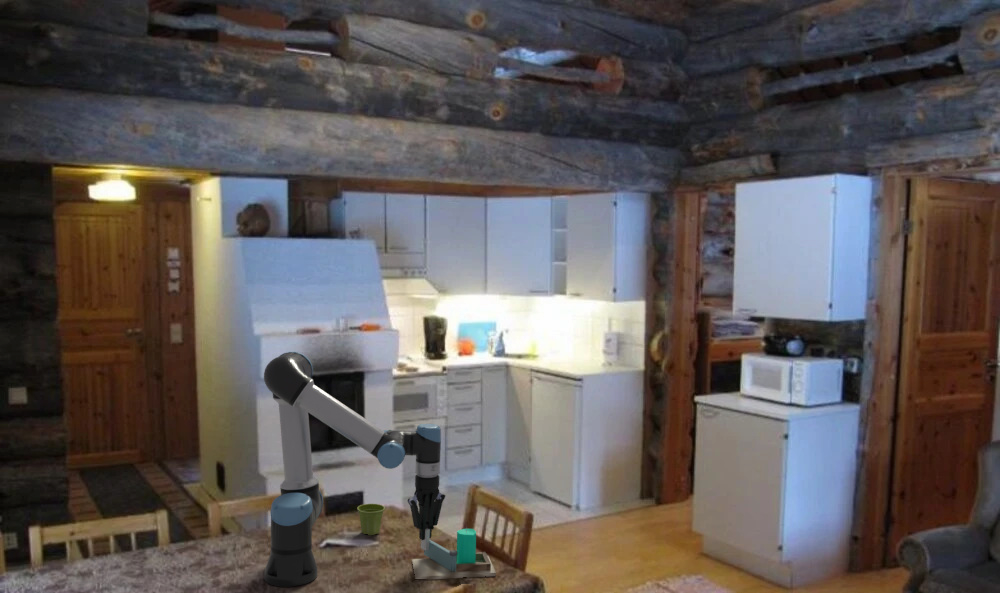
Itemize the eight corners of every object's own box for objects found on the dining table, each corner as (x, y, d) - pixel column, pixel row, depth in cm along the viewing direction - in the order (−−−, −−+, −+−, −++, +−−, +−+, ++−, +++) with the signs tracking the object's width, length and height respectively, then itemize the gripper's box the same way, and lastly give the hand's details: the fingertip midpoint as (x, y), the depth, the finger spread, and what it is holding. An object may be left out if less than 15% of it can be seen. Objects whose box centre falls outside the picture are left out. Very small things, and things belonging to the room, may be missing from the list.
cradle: (415, 580, 239) (415, 570, 239) (412, 562, 253) (412, 552, 253) (495, 576, 244) (496, 566, 244) (488, 558, 257) (488, 549, 257)
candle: (458, 569, 245) (459, 530, 245) (454, 562, 251) (454, 524, 250) (478, 568, 247) (478, 529, 246) (473, 560, 253) (473, 522, 252)
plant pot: (385, 528, 284) (385, 503, 284) (383, 537, 275) (383, 512, 275) (358, 528, 284) (358, 503, 283) (355, 537, 274) (355, 512, 274)
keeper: (451, 572, 242) (452, 553, 242) (422, 555, 256) (422, 536, 256) (458, 571, 243) (459, 552, 243) (429, 553, 257) (429, 535, 257)
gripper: (416, 480, 246) (414, 557, 247) (451, 474, 254) (448, 548, 256) (403, 474, 252) (400, 549, 253) (437, 468, 260) (435, 541, 261)
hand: (424, 549), depth 254 cm, fingers closed
